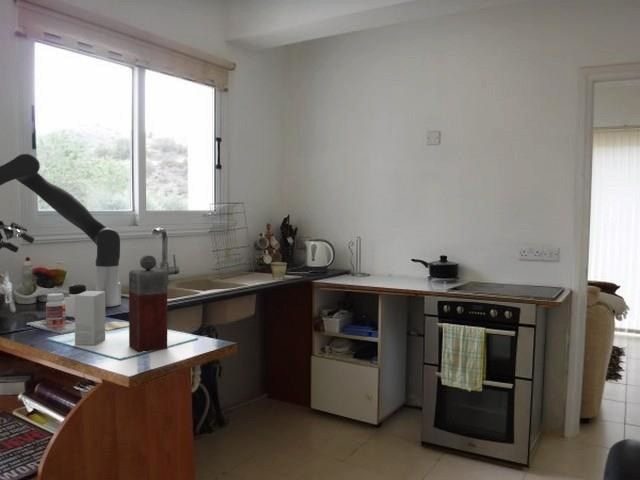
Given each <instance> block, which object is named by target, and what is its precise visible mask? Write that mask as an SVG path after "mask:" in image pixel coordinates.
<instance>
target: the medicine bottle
mask: <svg viewBox="0 0 640 480" xmlns="http://www.w3.org/2000/svg"><path fill="white" fill-rule="evenodd" d="M85 291H87V286H86V285H85V284H71V285H69V286H68V296H67V297H64V299H63V301H65V311H66V317H69V318H74V319H75V295H77V294H80V293H83V292H85Z"/></svg>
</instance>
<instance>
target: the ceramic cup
mask: <svg viewBox="0 0 640 480" xmlns="http://www.w3.org/2000/svg"><path fill="white" fill-rule="evenodd" d="M287 265H288V263H287V262H281V261H277V262H276V261H275V262H270V270H271V275H272V279H273V278H274V279H280V278H284V279H285V275H286V270H287ZM274 279H273V280H274Z"/></svg>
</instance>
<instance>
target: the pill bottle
mask: <svg viewBox="0 0 640 480" xmlns="http://www.w3.org/2000/svg"><path fill="white" fill-rule="evenodd" d="M64 295H65V294H64V293H62V292H61V293H60V292H54V293H53V292H52V293H48V294H47V295H46V296H47V298H46V301H47V300H48V301H47V302H46V303H45V320H46V325H45V326H49V327H55V326H60V325H66V320H67V318H66V317H67V316H66V311H65V301H64V298H65V297H64Z"/></svg>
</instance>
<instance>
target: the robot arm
mask: <svg viewBox="0 0 640 480" xmlns="http://www.w3.org/2000/svg"><path fill="white" fill-rule="evenodd" d="M40 168H41V163H40V161H39V159H38V158H37V157H36V156H35V155H33V154H29V153H21V154H19V155H17V156H16V157H14V158H13V159H11V160H10V161H7V162H6V163H4V164H2V165H0V186H3V185H4V184H7V183H9V182H11V181H13V180H16V181H17V182H19V183H20V184H22V185H23V186H24V187H26V188H28V189H29V190H31V191H32V192H34V193H35V194H36V195H37V196H38V197H39V198H41V199H42V200H43V201H44V202H45V203H46V204H47V205H49V206H50V207H51V208H52V209H53V210H55V212H57V213H58V214H59V216H61V217H63V218H64V219H65V220H66V221H68V222H69V223H70V224H72V225H74V226H75V227H77V228H78V229H79V230H81V231H82V232H83V233H84V234H85V235H86V236H87V237H88V238H89V239H90V240H91V241H92V242H93V243H94V245H96V259H95V291H105V308H107V307H109V308H111V307H116V306H119V305H122V283H121V281H120V277H119V276H120V275H119V273H120V270H119V266H120V263H119V262H120V257H121V238H120V234H119V232H117V231H116V230H115V229H112V228H109V227H107V226H106V225H104V224H103V223H101V222H100V221H99V220H97V219H96V218H95V217H94V215H92V214H91V212H90V211H89V209H87V207H86V206H85V205H84V204H83V203H82V202H81V201H80V200H79V199H78V198H77V197H76V196H75V195H74V194H72V193H71V192H70V191H68V190H67V189H65V188H64V187H61V186H59V185H58V184H54V183H52V182H50V181H49V180H48V179H46V178H45V177H44V176H42V175H41V173H39V171H40ZM10 223H11V224H10V225H8V224H7V225H6V224H5V223H4V222H3V220H2V219H0V250H2V249H7V250H9V251H12V252H14V253H17V252H18V251H19V246H18V245H15V243H12V242H9V240H11V239H19V238H20V239H23V240H24V241H26V242H27V243H30V244H32V243H34V241H35V238H34V237H33V236H32V235H30V234H28V233H27V232H28V229H27V228H26V227H24V226H22V225H20V224H18V223H15V222H10Z"/></svg>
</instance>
